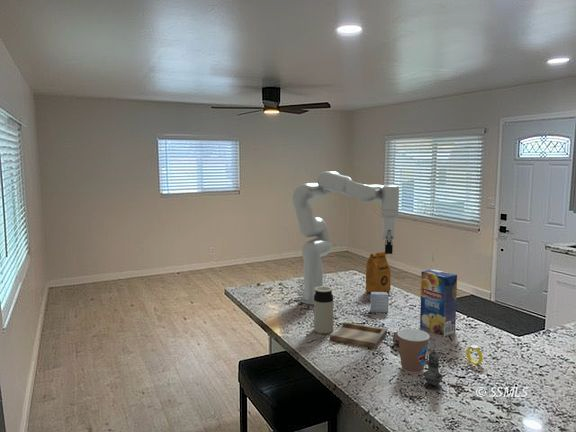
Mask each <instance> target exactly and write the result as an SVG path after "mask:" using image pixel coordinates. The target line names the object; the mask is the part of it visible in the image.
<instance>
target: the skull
mask: <svg viewBox="0 0 576 432" xmlns="http://www.w3.org/2000/svg"><path fill="white" fill-rule="evenodd" d="M400 330H401V329H400ZM400 330H397V331H395V332H394V333H393V335H392V342H393V343H395V344H396V345H399V338H398V334H397V333H398V331H400Z"/></svg>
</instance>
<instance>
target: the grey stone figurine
mask: <svg viewBox="0 0 576 432" xmlns="http://www.w3.org/2000/svg"><path fill="white" fill-rule="evenodd" d="M439 359H440V357H439V353H438V352H437V351H436V349H435V348H433V349H432V351H430V352H429V353H428V361H427V362H426V363H427V365H428V368H427V370H426V371H424V372H423V373H422V375H423V376H424V377H423V378H424V380H425V382H424V383H423V386H424V388H425V389H428V390H430V391H435V392H437V391H441V390H442V388H443V387H442V385H441V383H442V381H443V379H444V375H443V373H441V372H439V367H440V363H439Z"/></svg>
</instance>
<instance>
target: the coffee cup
mask: <svg viewBox="0 0 576 432" xmlns="http://www.w3.org/2000/svg"><path fill="white" fill-rule="evenodd" d="M397 331H398V333H397V334H398V338H399V344H398V346H399V357H400V366H401V369H402V370H404V371H405V372H406V373H410V374H420V373H422V372H423V371H424V368H425V363H426V357H427V350H428V344H429V339H430V334H429V333H427V332H426V331H425V330H421V329H417V328H416V329H415V328H404V329H403V328H402V329H400V331H399V330H397Z"/></svg>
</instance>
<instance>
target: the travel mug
mask: <svg viewBox="0 0 576 432" xmlns="http://www.w3.org/2000/svg"><path fill="white" fill-rule="evenodd" d="M333 290H334V289H333V287H331V286H327V285H323V286H318V287H315V292H316V293H315V295H314V305H313V331H314V332H316V333H317V334H324V335H325V334H331V333H333V331H334V295H333Z"/></svg>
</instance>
